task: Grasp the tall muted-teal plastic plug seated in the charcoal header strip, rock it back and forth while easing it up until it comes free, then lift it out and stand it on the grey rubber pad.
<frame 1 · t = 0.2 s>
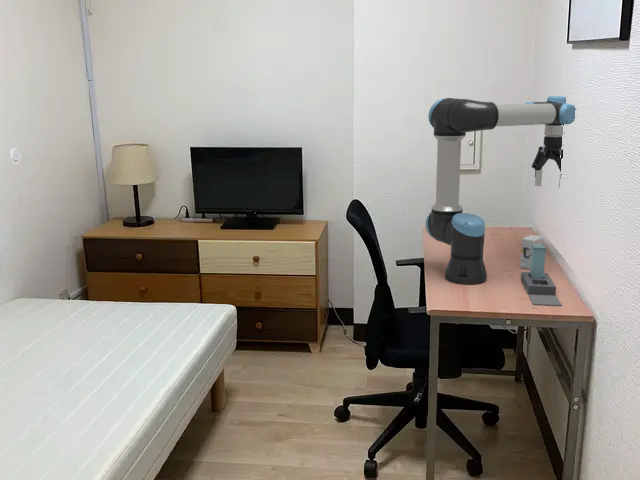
hand: (549, 188, 258), 28 cm above the table, fingers open, 13 cm apart
header: (537, 287, 225), on the table
ink box: (530, 266, 249), on the table
plug: (535, 284, 228), resting in header
pad: (544, 300, 212), on the table
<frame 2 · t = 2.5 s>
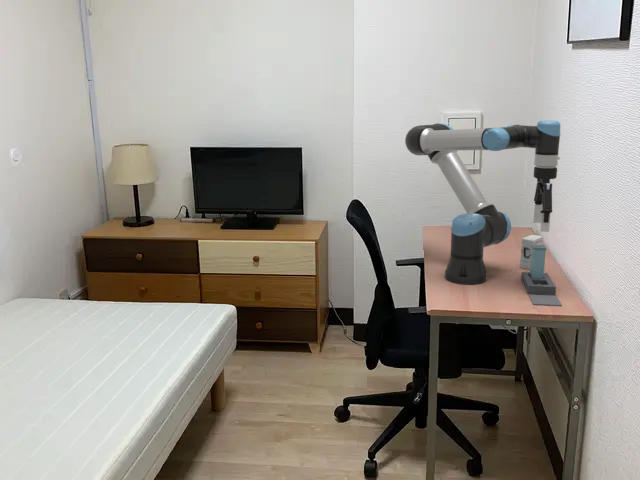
hand: (541, 227, 223), 21 cm above the table, fingers open, 13 cm apart
nothing on the table moved.
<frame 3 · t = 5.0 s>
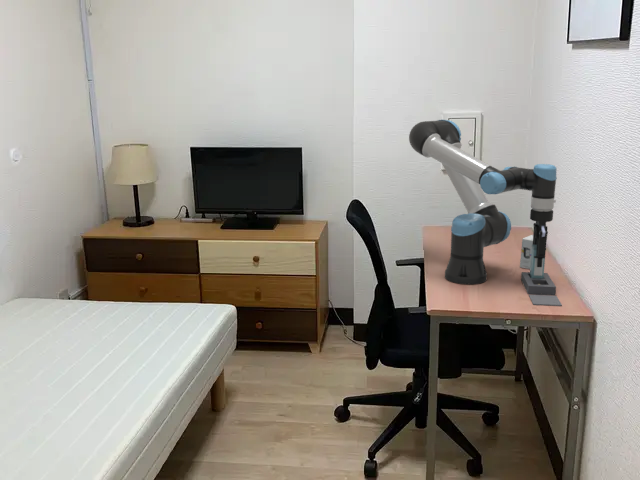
hand: (536, 273, 227), 4 cm above the table, fingers closed on plug, 4 cm apart
plug: (535, 284, 228), resting in header, touching gripper
everything else where it was.
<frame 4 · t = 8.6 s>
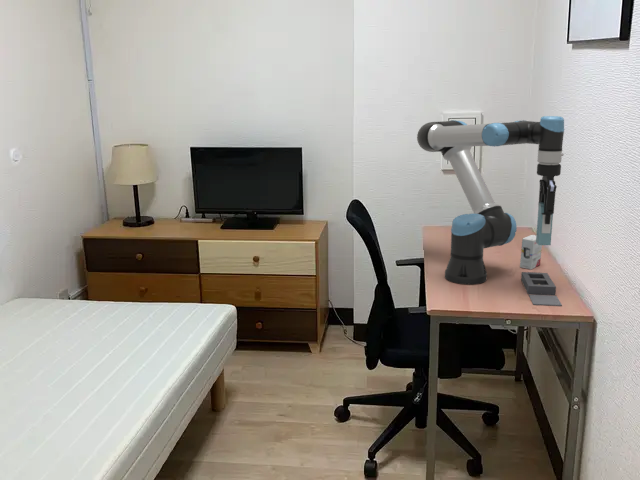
hand: (544, 231, 218), 21 cm above the table, fingers closed on plug, 4 cm apart
plug: (543, 243, 219), point 16 cm above the table, touching gripper
everything else where it was.
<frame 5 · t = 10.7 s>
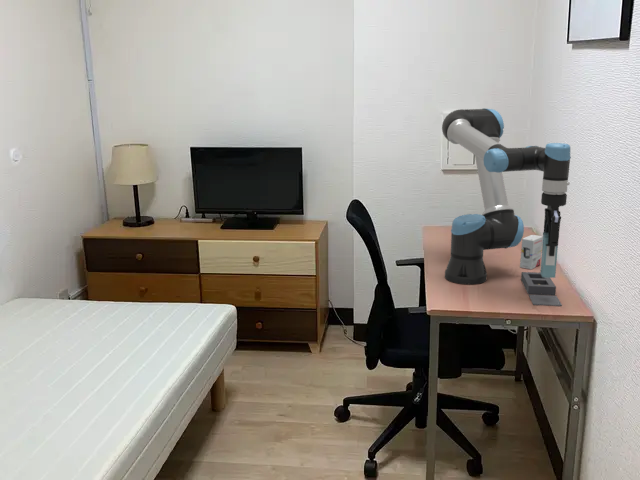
hand: (548, 262, 208), 13 cm above the table, fingers closed on plug, 4 cm apart
plug: (547, 275, 209), point 9 cm above the table, touching gripper
everything else where it was.
when the fingers open (6 cm above the table, at t = 12.3 s): plug stays where it is, resting on pad.
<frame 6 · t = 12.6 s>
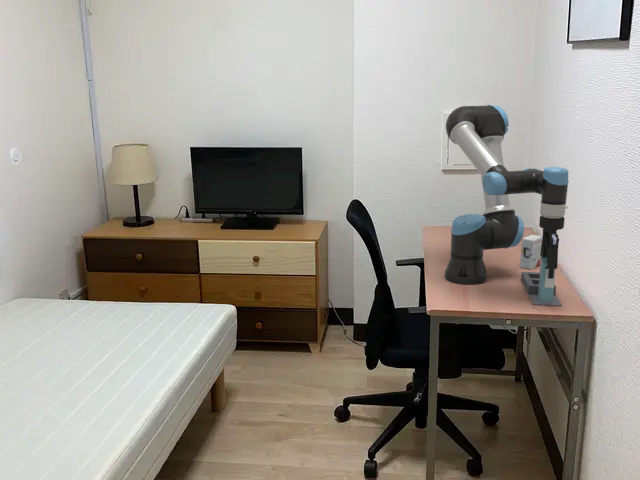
hand: (546, 282, 210), 6 cm above the table, fingers open, 8 cm apart
plug: (545, 299, 211), resting on pad
everything else where it was.
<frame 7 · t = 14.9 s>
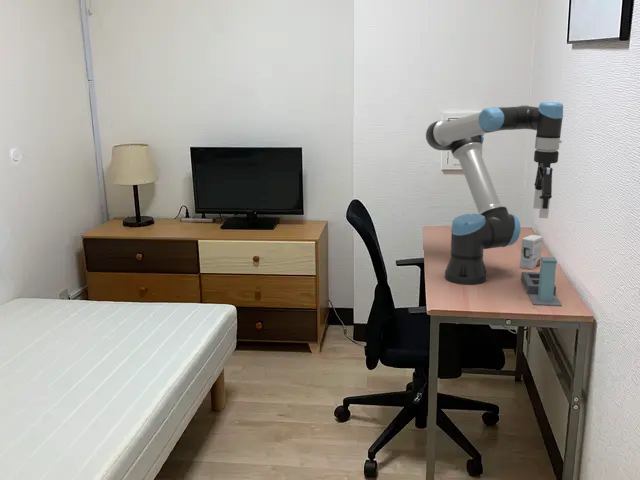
hand: (540, 213, 215), 28 cm above the table, fingers open, 13 cm apart
nothing on the table moved.
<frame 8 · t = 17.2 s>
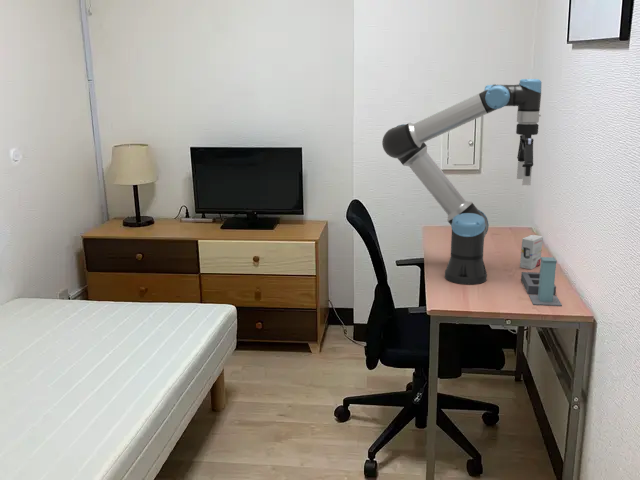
hand: (523, 182, 233), 35 cm above the table, fingers open, 13 cm apart
nothing on the table moved.
at the end: plug inside the target area on the pad (0.0 cm from its centre), point 0.4 cm above the pad's base; plug tilted 0°; the gripper is holding nothing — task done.
